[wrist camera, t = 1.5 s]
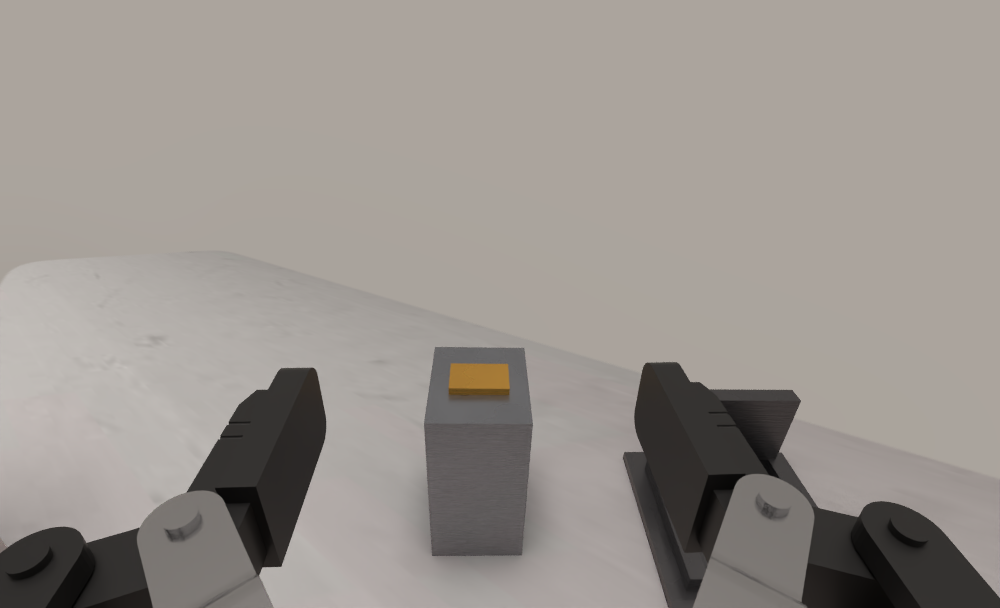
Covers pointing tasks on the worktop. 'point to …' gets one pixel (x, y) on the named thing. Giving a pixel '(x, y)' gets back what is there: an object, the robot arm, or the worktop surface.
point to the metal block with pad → (478, 450)
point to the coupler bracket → (679, 572)
